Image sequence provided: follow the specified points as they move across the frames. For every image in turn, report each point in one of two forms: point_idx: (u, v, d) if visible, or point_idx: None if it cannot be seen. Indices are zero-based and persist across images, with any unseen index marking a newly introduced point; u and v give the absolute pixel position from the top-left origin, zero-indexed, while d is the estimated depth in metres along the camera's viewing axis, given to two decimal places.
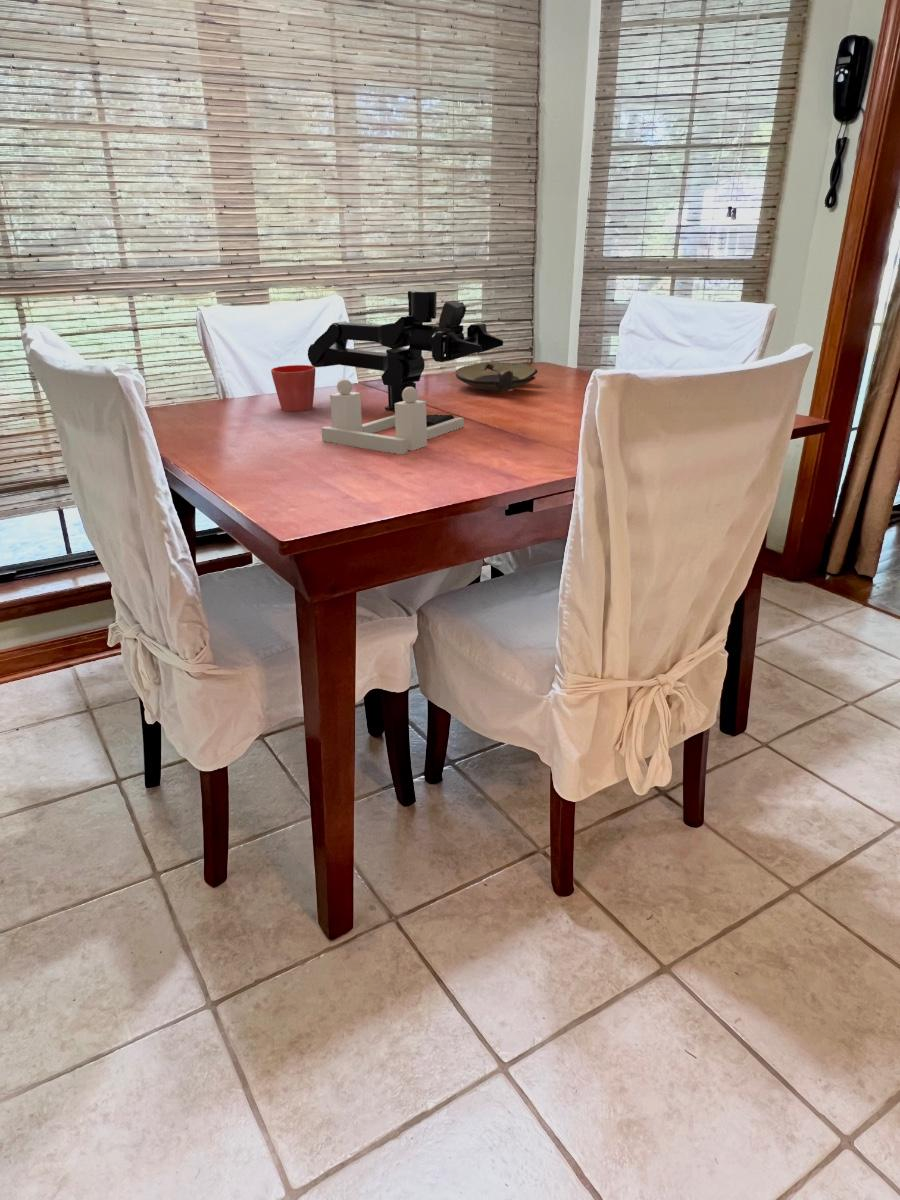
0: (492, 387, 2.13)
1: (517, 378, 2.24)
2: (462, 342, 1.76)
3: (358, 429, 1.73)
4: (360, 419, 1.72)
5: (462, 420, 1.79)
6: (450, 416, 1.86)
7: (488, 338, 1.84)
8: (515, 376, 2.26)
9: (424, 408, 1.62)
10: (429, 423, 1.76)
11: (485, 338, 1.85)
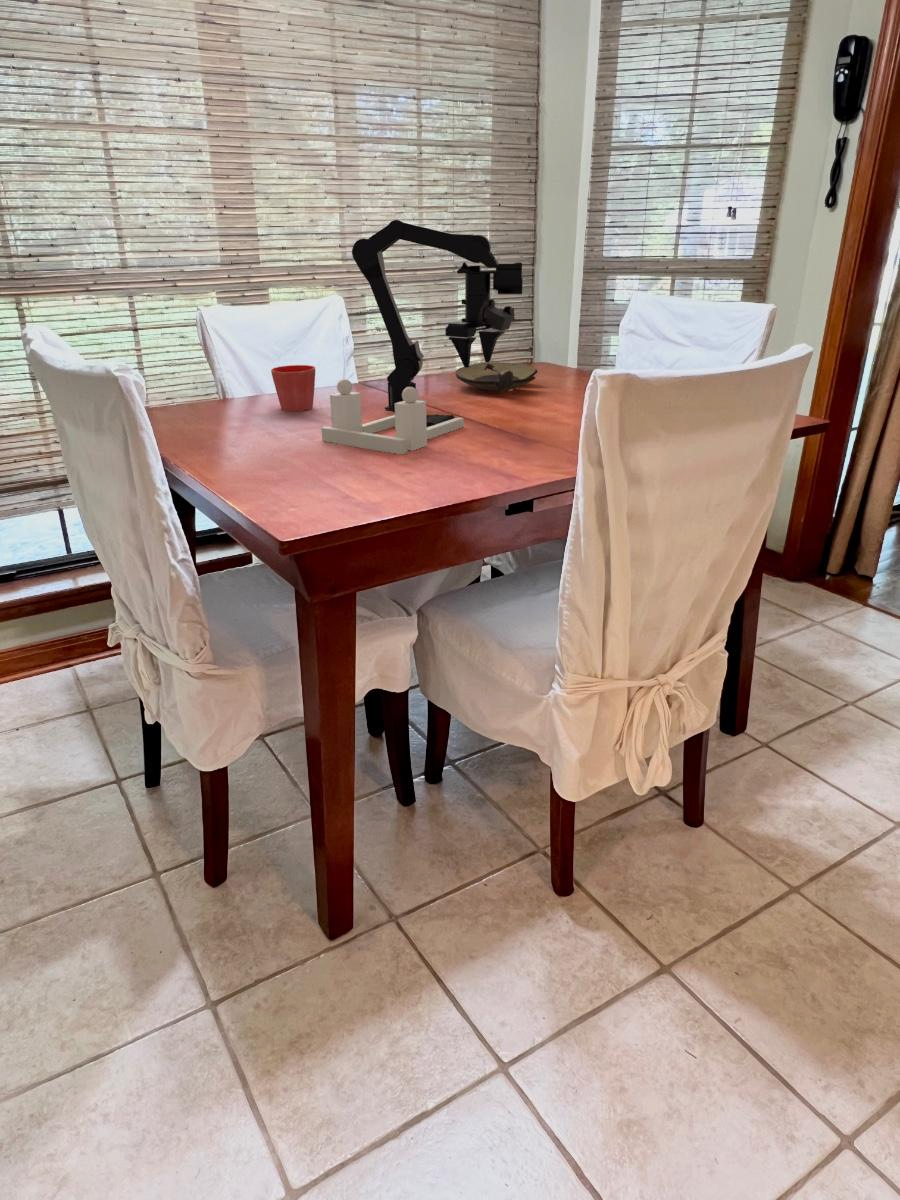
0: (492, 387, 2.13)
1: (517, 378, 2.24)
2: (467, 350, 1.86)
3: (358, 429, 1.73)
4: (360, 419, 1.72)
5: (462, 420, 1.79)
6: (451, 416, 1.86)
7: (490, 345, 1.94)
8: (515, 376, 2.26)
9: (424, 408, 1.62)
10: (430, 424, 1.76)
11: (490, 341, 1.94)
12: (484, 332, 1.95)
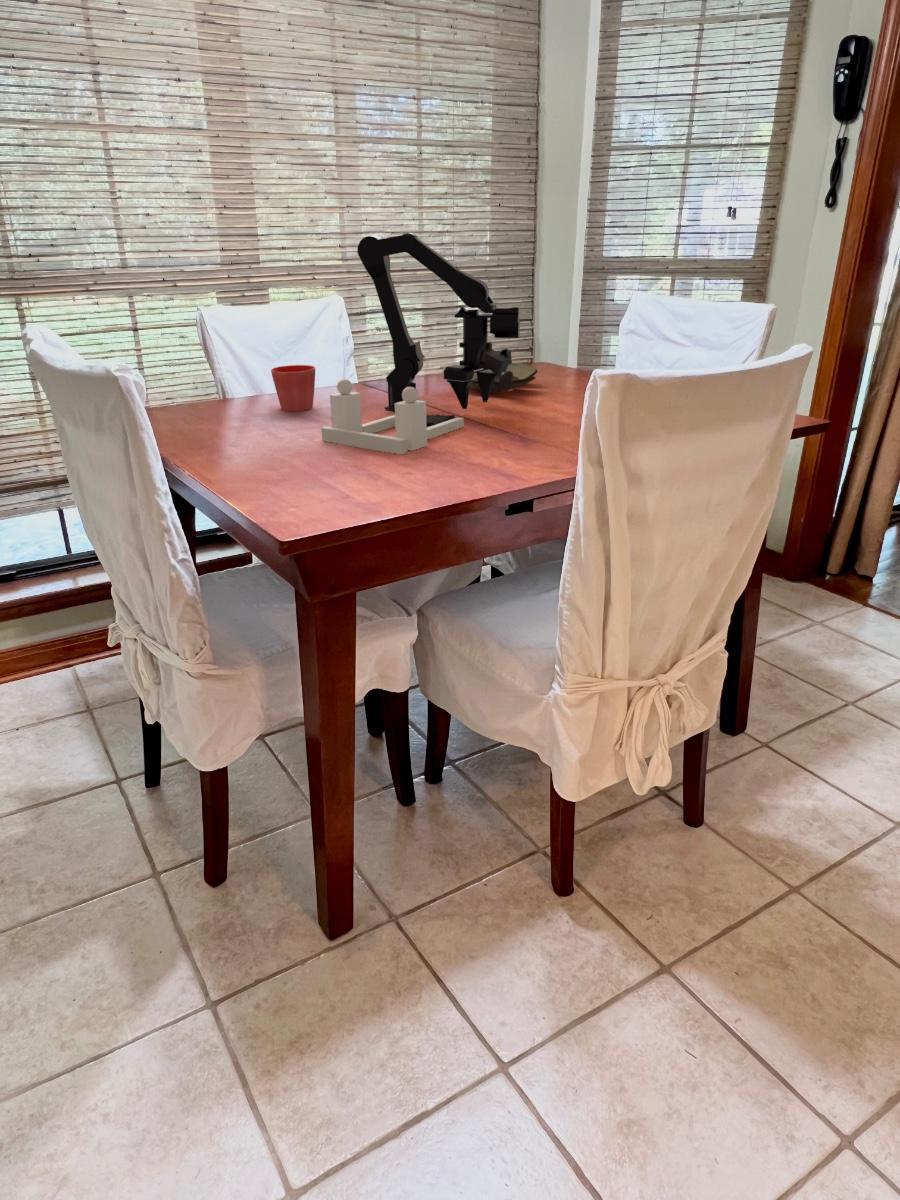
0: (492, 387, 2.13)
1: (517, 378, 2.24)
2: (465, 393, 1.89)
3: (358, 429, 1.73)
4: (360, 419, 1.72)
5: (462, 420, 1.79)
6: (452, 417, 1.86)
7: (487, 386, 1.98)
8: (515, 376, 2.26)
9: (424, 408, 1.62)
10: (430, 424, 1.76)
11: (487, 382, 1.97)
12: (482, 373, 1.98)
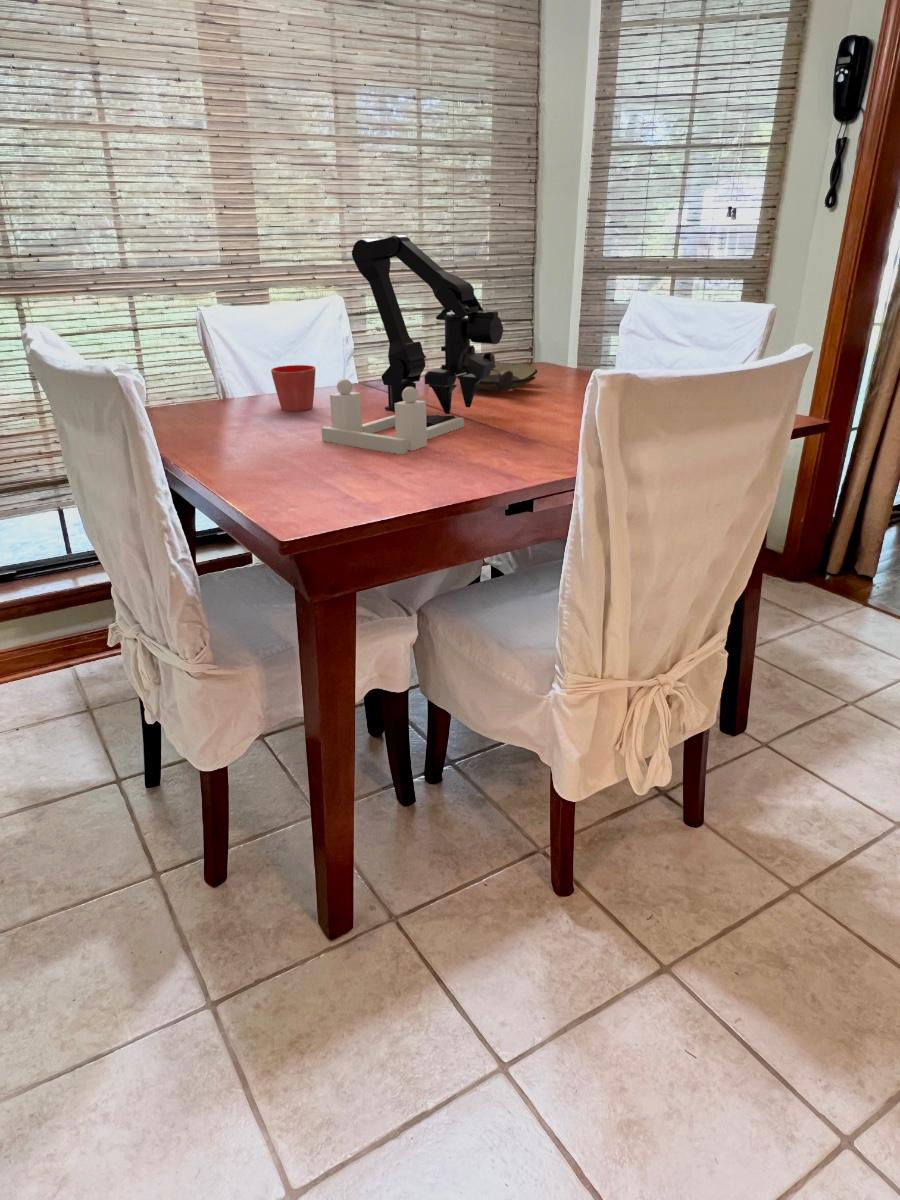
0: (492, 387, 2.13)
1: (517, 378, 2.24)
2: (447, 398, 1.84)
3: (358, 429, 1.73)
4: (360, 419, 1.72)
5: (462, 420, 1.79)
6: (451, 417, 1.85)
7: (470, 391, 1.92)
8: (515, 376, 2.26)
9: (424, 408, 1.62)
10: (429, 424, 1.75)
11: (470, 387, 1.92)
12: (464, 377, 1.92)
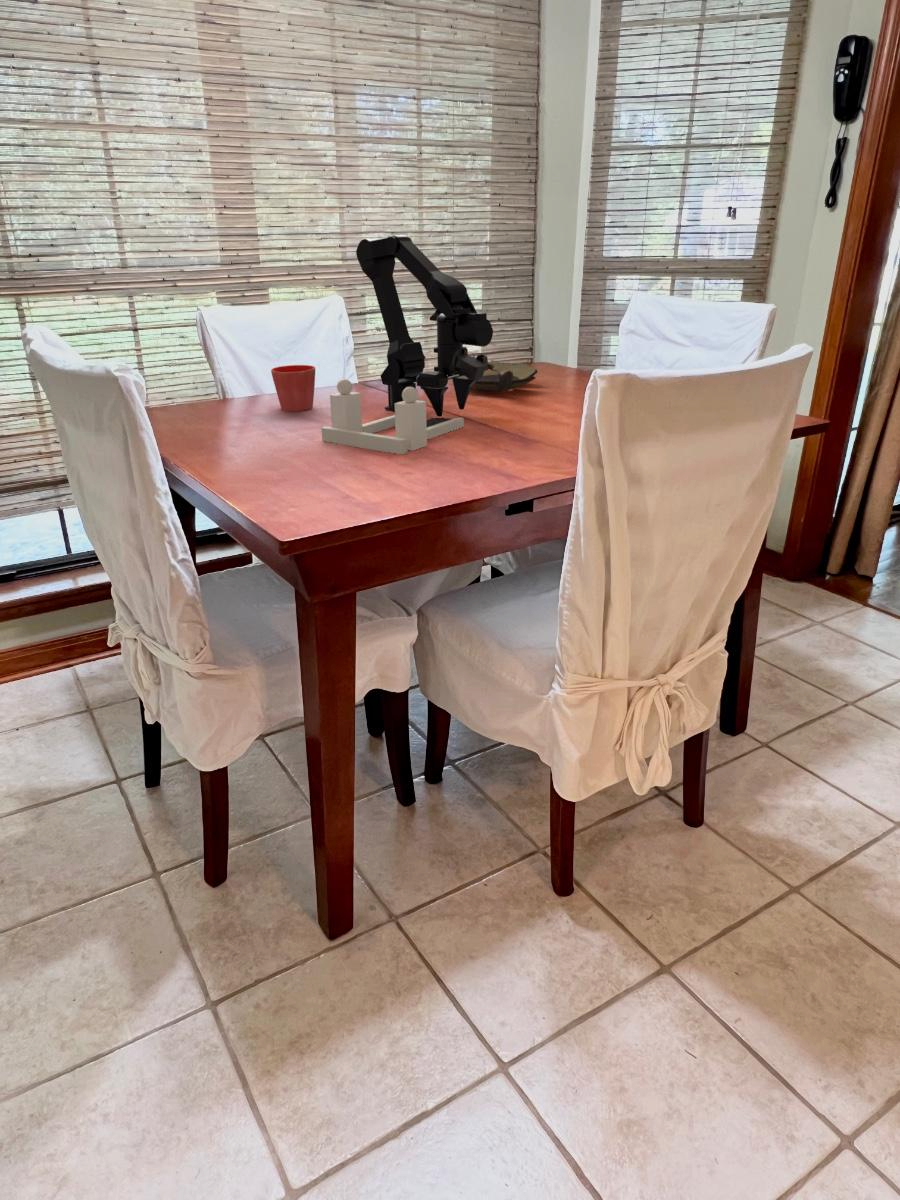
0: (492, 387, 2.13)
1: (517, 378, 2.24)
2: (439, 400, 1.82)
3: (358, 429, 1.73)
4: (360, 419, 1.72)
5: (462, 420, 1.79)
6: None
7: (463, 392, 1.90)
8: (515, 376, 2.26)
9: (424, 408, 1.62)
10: None
11: (463, 388, 1.90)
12: (458, 379, 1.90)
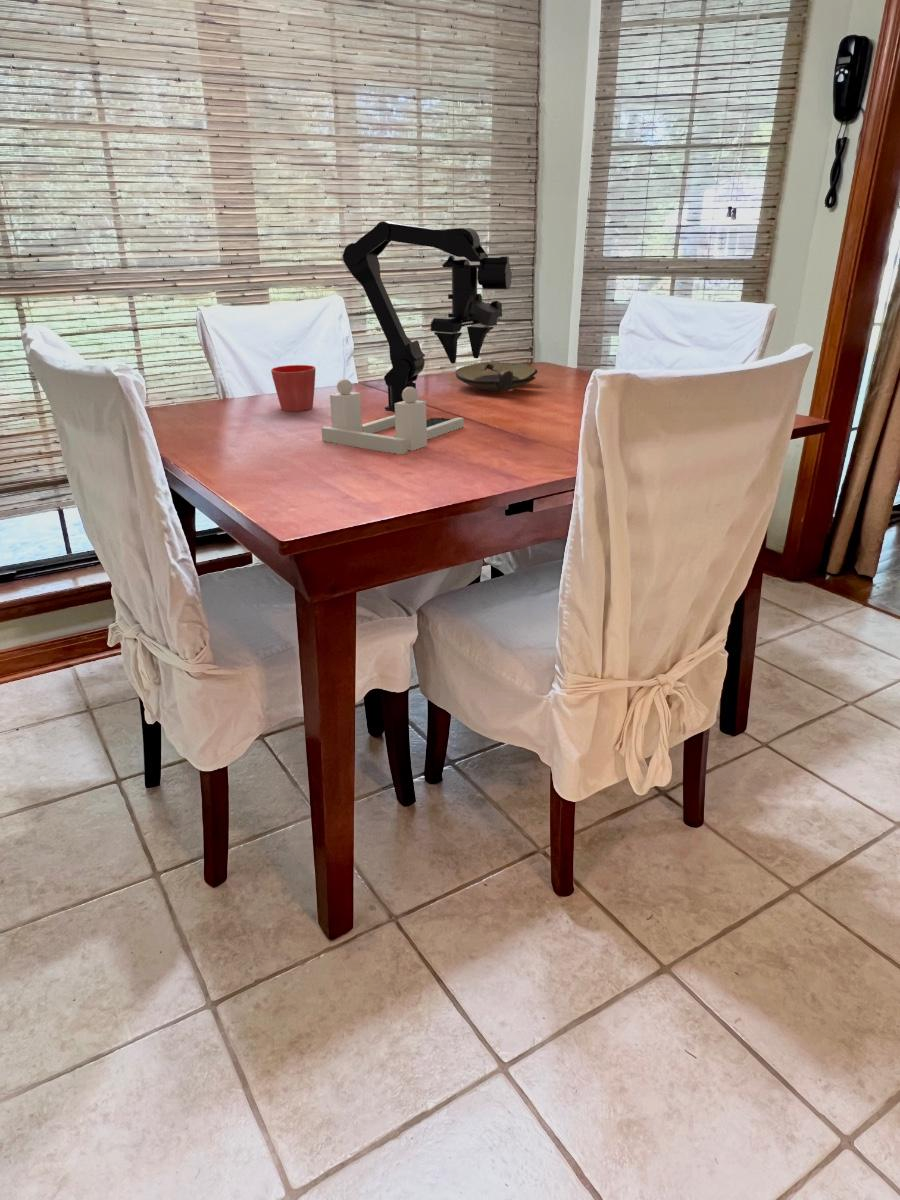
0: (492, 387, 2.13)
1: (517, 378, 2.24)
2: (453, 346, 1.83)
3: (358, 429, 1.73)
4: (360, 419, 1.72)
5: (462, 420, 1.79)
6: None
7: (478, 341, 1.91)
8: (515, 376, 2.26)
9: (424, 408, 1.62)
10: None
11: (478, 337, 1.91)
12: (472, 327, 1.91)
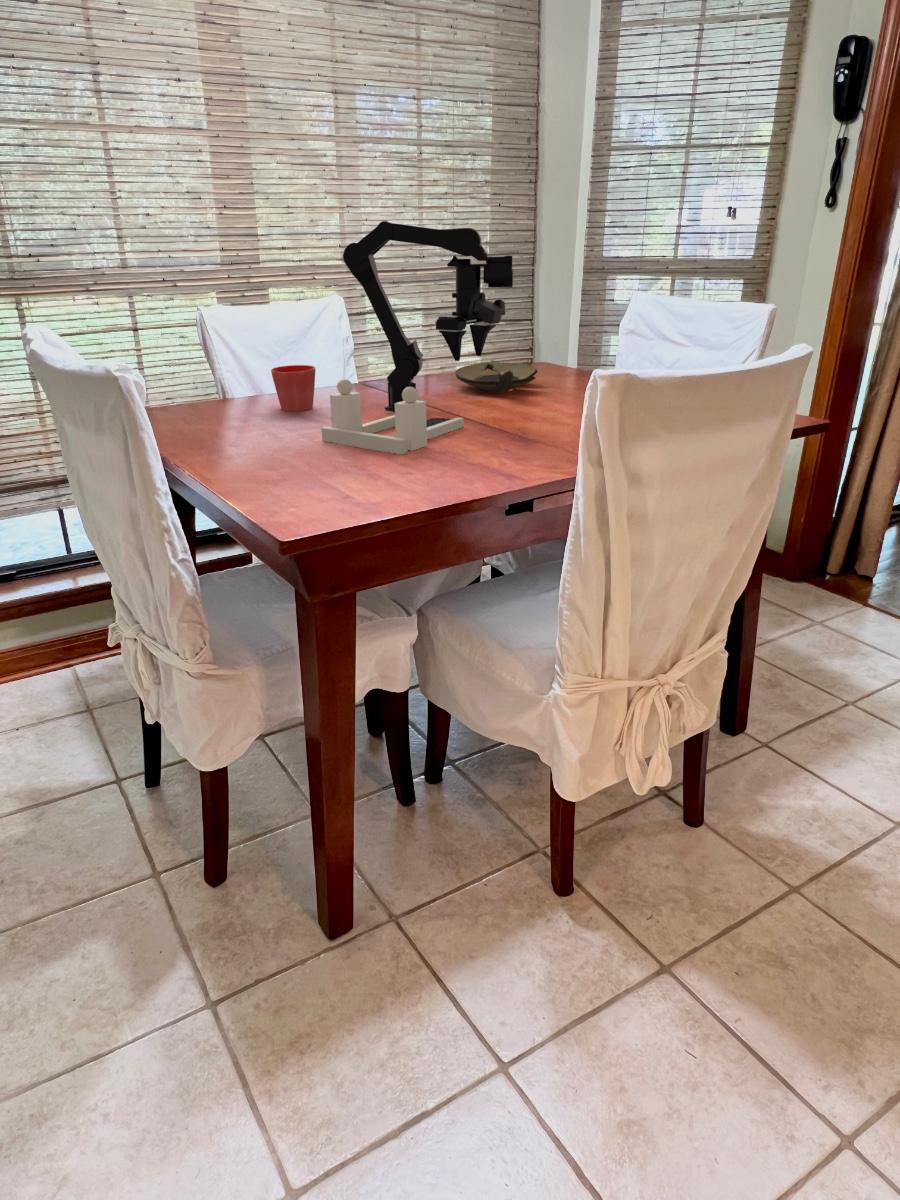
0: (492, 387, 2.13)
1: (517, 378, 2.24)
2: (457, 344, 1.86)
3: (358, 429, 1.73)
4: (360, 419, 1.72)
5: (462, 420, 1.79)
6: None
7: (481, 339, 1.94)
8: (515, 376, 2.26)
9: (424, 408, 1.62)
10: None
11: (481, 335, 1.94)
12: (475, 326, 1.94)
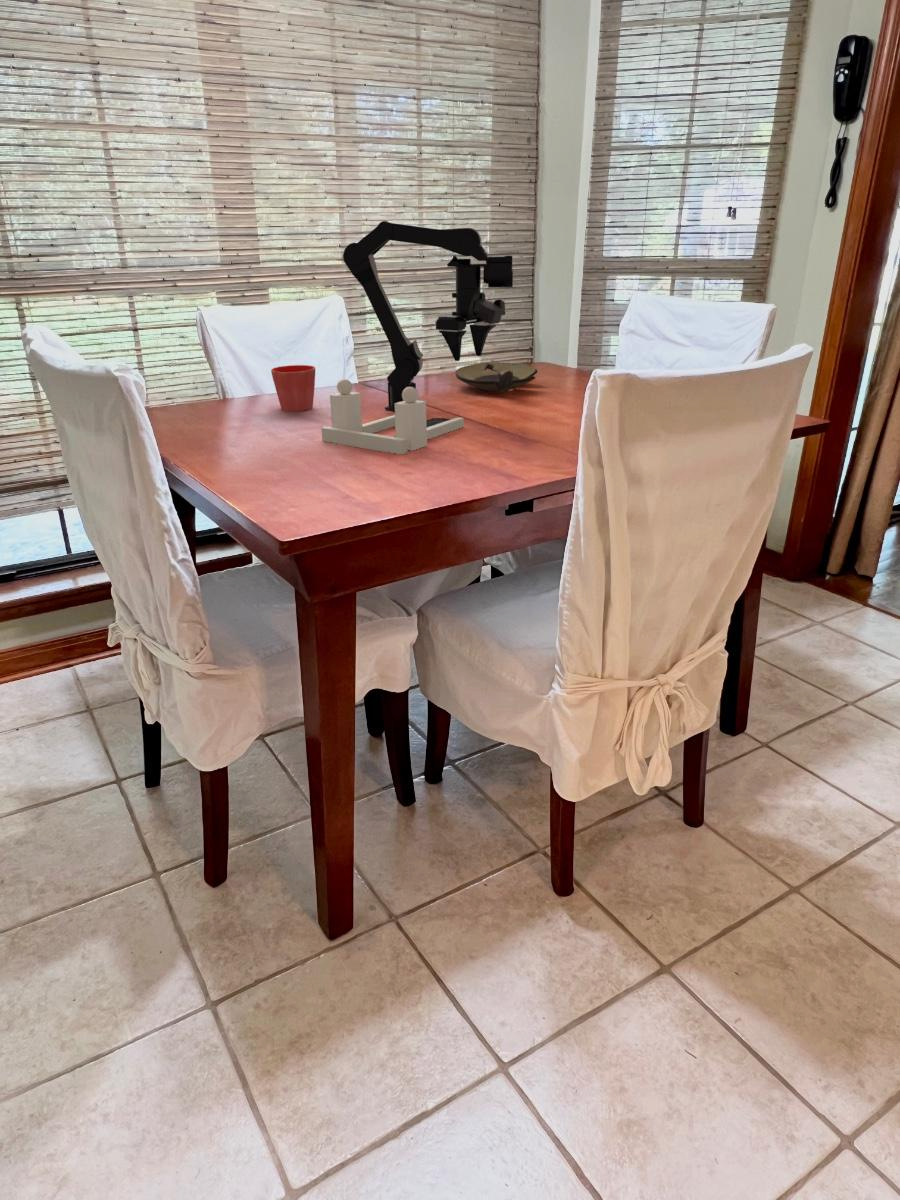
0: (492, 387, 2.13)
1: (517, 378, 2.24)
2: (457, 344, 1.86)
3: (358, 429, 1.73)
4: (360, 419, 1.72)
5: (462, 420, 1.79)
6: None
7: (481, 339, 1.94)
8: (515, 376, 2.26)
9: (424, 408, 1.62)
10: None
11: (481, 335, 1.94)
12: (475, 326, 1.94)
